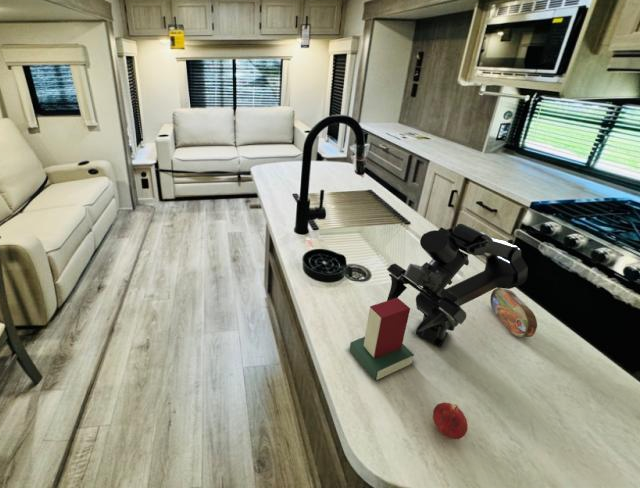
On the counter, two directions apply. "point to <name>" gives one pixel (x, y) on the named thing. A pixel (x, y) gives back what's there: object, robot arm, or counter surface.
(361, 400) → the counter surface
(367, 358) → the hardcover
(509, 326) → the tin
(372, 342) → the paperback
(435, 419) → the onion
